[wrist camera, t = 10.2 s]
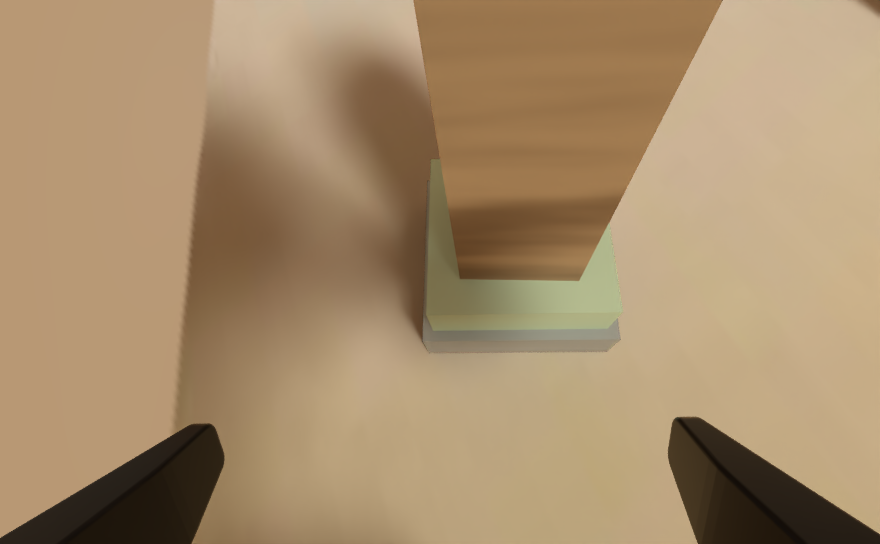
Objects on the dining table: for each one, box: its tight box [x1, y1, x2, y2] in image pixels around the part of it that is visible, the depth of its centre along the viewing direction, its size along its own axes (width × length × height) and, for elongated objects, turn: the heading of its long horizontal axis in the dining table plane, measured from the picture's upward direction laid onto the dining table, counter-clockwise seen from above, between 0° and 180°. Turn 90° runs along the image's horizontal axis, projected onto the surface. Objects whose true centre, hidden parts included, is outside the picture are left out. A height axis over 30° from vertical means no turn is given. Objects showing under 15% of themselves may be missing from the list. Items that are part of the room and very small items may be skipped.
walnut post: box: [414, 0, 723, 281], centre depth 14 cm, size 5×5×13 cm
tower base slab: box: [422, 181, 621, 353], centre depth 23 cm, size 9×9×2 cm
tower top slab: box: [426, 159, 623, 331], centre depth 21 cm, size 8×8×2 cm
